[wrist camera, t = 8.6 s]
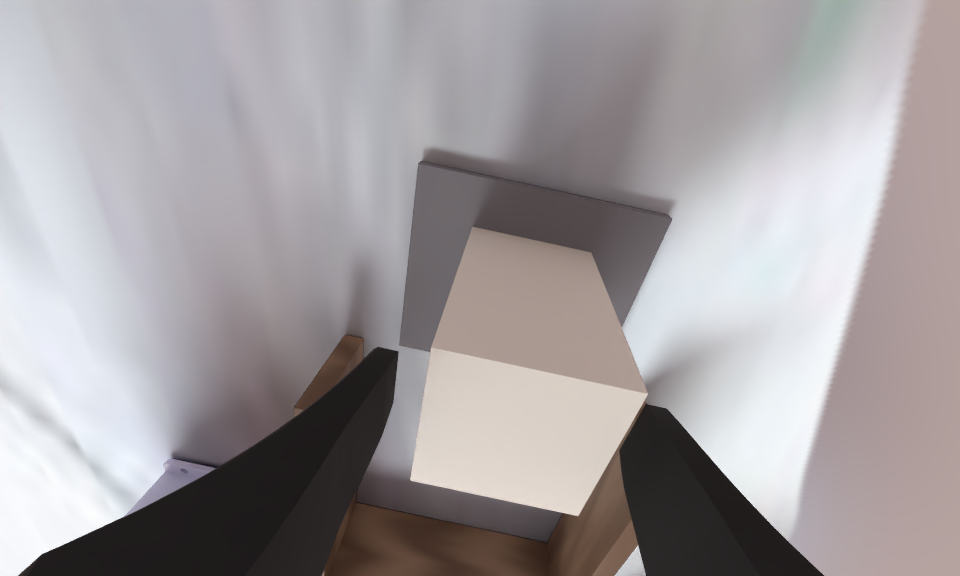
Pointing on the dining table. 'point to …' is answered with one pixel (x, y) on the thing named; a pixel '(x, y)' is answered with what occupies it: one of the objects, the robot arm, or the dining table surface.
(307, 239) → the dining table surface
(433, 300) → the charcoal mat
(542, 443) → the cream block
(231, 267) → the dining table surface
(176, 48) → the dining table surface
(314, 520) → the robot arm
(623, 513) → the walnut u-shaped frame
